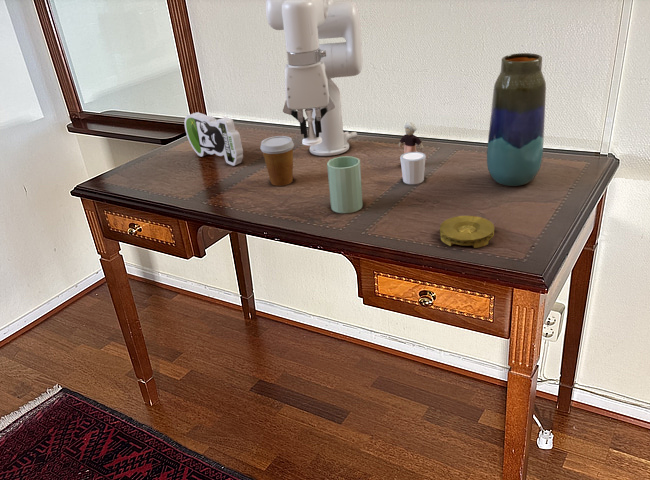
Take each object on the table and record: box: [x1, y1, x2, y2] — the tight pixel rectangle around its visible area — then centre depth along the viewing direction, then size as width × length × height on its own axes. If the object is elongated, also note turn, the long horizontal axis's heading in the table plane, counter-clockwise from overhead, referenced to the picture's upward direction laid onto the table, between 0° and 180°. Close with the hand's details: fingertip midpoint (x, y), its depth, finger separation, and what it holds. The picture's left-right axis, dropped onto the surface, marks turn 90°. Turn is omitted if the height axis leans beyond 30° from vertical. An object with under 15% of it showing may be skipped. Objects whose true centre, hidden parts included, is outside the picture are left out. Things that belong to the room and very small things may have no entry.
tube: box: [326, 155, 364, 214], centre depth 160 cm, size 8×8×12 cm
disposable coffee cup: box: [259, 135, 295, 187], centre depth 178 cm, size 10×10×12 cm
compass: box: [439, 215, 495, 249], centre depth 143 cm, size 12×12×2 cm
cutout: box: [183, 111, 244, 166], centre depth 199 cm, size 15×3×25 cm
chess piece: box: [301, 109, 322, 147], centre depth 152 cm, size 5×5×10 cm
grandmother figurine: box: [398, 121, 424, 154], centre depth 179 cm, size 8×4×13 cm, turn 68°
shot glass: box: [399, 151, 427, 185], centre depth 171 cm, size 7×7×7 cm
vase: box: [486, 52, 547, 187], centre depth 159 cm, size 14×14×31 cm
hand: (311, 135), depth 154 cm, fingers closed on chess piece
